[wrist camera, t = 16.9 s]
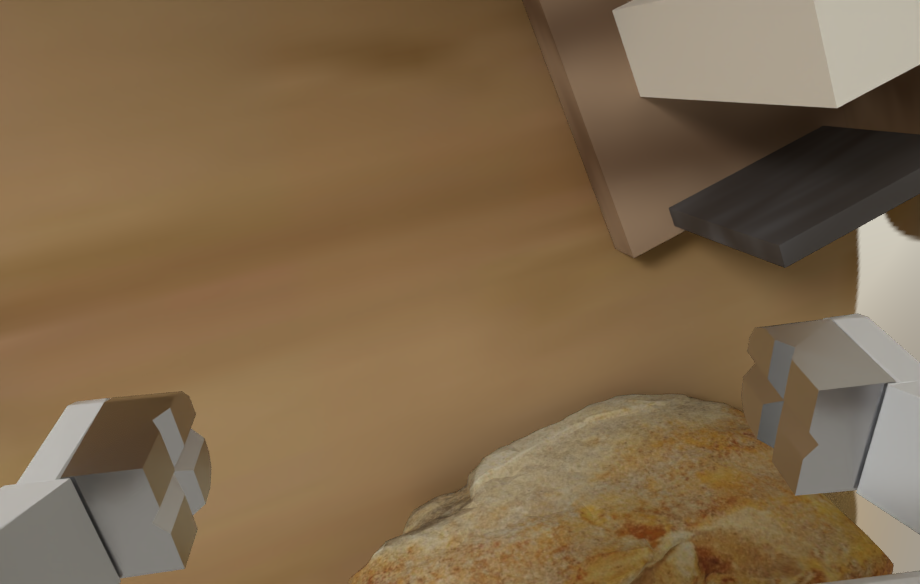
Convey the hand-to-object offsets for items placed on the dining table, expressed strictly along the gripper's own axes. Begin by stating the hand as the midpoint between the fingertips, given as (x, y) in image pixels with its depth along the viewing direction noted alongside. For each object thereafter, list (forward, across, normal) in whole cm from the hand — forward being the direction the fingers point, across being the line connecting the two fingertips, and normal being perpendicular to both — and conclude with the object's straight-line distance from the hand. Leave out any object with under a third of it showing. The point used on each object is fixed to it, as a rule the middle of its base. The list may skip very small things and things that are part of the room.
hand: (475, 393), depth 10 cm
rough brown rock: (+20, -4, +26) cm, 33 cm away
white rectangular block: (+24, -13, -1) cm, 27 cm away
